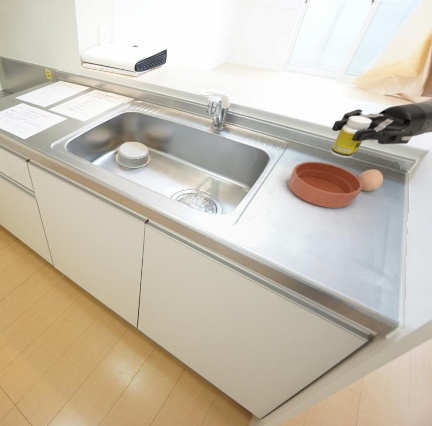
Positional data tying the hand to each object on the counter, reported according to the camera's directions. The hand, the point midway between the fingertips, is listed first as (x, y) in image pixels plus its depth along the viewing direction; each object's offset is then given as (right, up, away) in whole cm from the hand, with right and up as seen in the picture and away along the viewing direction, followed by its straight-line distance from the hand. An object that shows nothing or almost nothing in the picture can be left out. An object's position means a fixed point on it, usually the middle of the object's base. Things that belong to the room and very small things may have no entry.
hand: (344, 131), depth 62 cm
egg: (+16, -12, +13) cm, 24 cm away
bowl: (+4, -12, +13) cm, 18 cm away
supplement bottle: (+3, -4, +4) cm, 7 cm away
